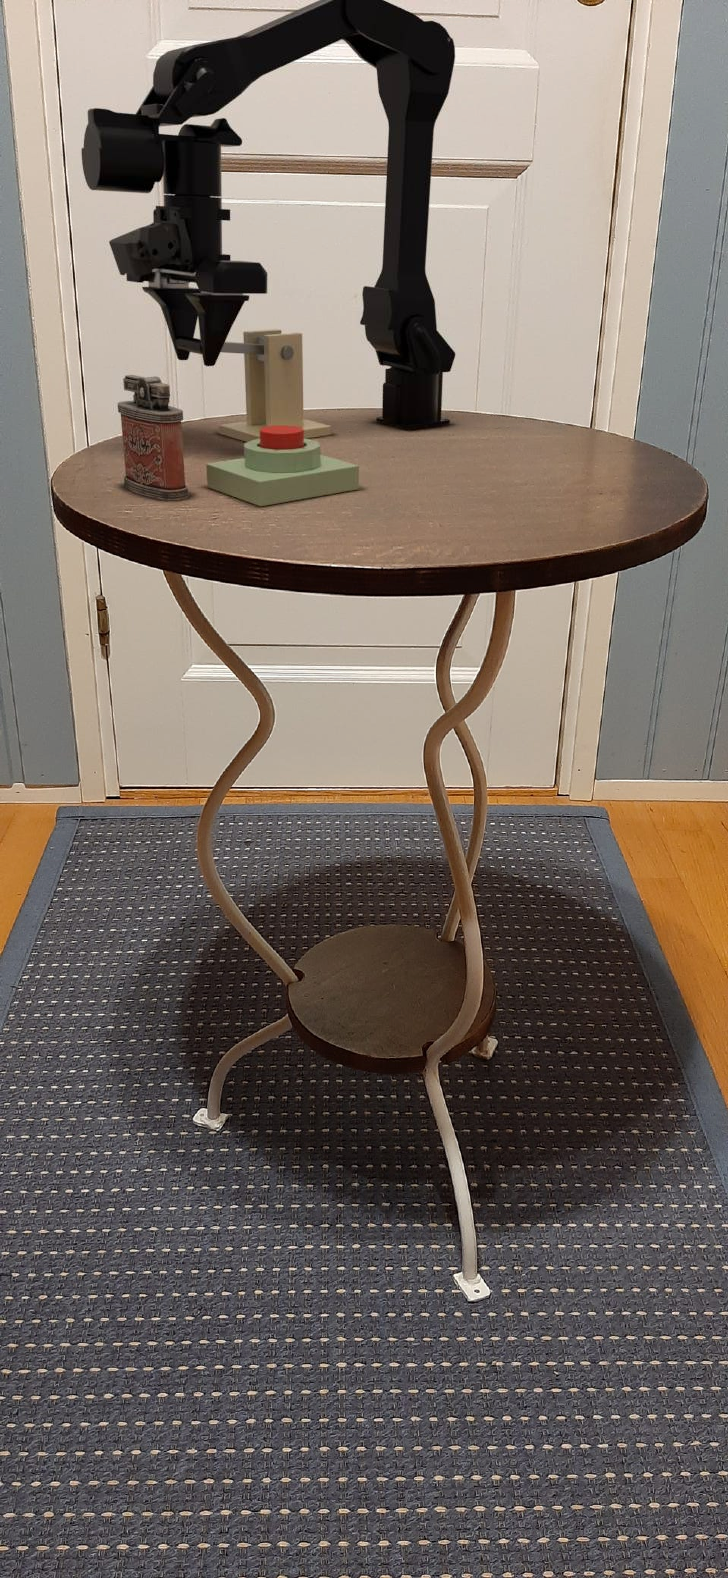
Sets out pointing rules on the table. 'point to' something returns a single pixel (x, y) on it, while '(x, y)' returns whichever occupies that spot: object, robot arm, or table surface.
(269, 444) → the button
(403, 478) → the table surface
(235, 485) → the button box
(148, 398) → the lighter
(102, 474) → the table surface
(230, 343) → the lever
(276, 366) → the bracket
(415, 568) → the table surface
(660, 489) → the table surface
